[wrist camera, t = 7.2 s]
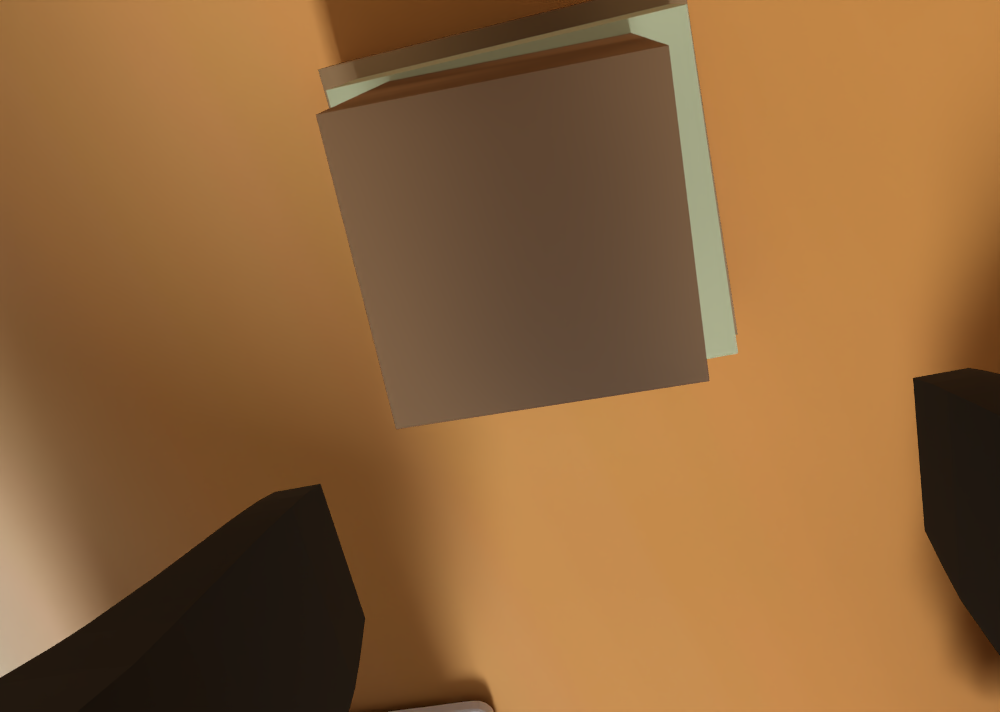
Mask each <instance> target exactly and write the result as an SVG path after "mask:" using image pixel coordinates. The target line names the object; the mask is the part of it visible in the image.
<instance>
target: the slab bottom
mask: <svg viewBox="0 0 1000 712" xmlns="http://www.w3.org/2000/svg"><path fill="white" fill-rule="evenodd" d="M667 4H687V0H591V1H587V2H583V3H579V4H575V5H571V6H567V7H563V8H559V9H555V10H551V11H547V12H543V13H539V14H535V15H531V16H527V17H523V18H519V19H515V20H511V21H507V22H503V23H499V24H495V25H491V26H487V27H483V28H479V29H475V30H471V31H467V32H463V33H459V34H455V35H451V36H447V37H443V38H439V39H435V40H431V41H427V42H423V43H419V44H415V45H411V46H407V47H403V48H399V49H395V50H391V51H387V52H383V53H379V54H375V55H371V56H367V57H363V58H359V59H355V60H351V61H347V62H343V63H339V64H336V65H333V66H329V67H326V68H322V69H319V70H318V71H319V74H320V78H321V81H322V84H323V88H324V91H325V95H326V98H327V102H328V105H329V108H331V106H330V103H329V99H328V96H327V92H326V90H328V89H331V88H334V87H336V86H339V85H342V84H344V83H347V82H350V81H352V80H355V79H358V78H362V77H366V76H371V75H375V74H379V73H383V72H387V71H391V70H396V69H400V68H404V67H408V66H412V65H416V64H421V63H425V62H429V61H433V60H437V59H442V58H446V57H450V56H454V55H458V54H462V53H467V52H471V51H475V50H479V49H483V48H487V47H492V46H496V45H500V44H504V43H508V42H512V41H517V40H521V39H525V38H529V37H533V36H538V35H542V34H546V33H550V32H554V31H558V30H563V29H567V28H571V27H575V26H579V25H583V24H588V23H592V22H596V21H600V20H604V19H609V18H613V17H617V16H621V15H625V14H629V13H634V12H638V11H642V10H646V9H650V8H654V7H659V6H663V5H667ZM687 8H688V6H687ZM688 15H689V12H688ZM689 22H690V19H689ZM690 29H691V25H690ZM691 35H692V32H691ZM692 42H693V38H692ZM693 49H694V45H693ZM694 56H695V51H694ZM695 63H696V58H695ZM696 69H697V65H696ZM697 76H698V71H697ZM698 83H699V78H698ZM699 90H700V84H699ZM700 97H701V91H700ZM701 104H702V97H701ZM702 110H703V104H702ZM703 117H704V111H703ZM704 124H705V117H704ZM705 131H706V138H707V145H708V151H709V158H710V165H711V172H712V179H713V185H714V192H715V199H716V206H717V213H718V220H719V226H720V233H721V240H722V247H723V254H724V261H725V267H726V274H727V281H728V288H729V295H730V301H731V308H732V315H733V322H734V329H735V335H737V327H736V321H735V314H734V307H733V301H732V294H731V288H730V281H729V275H728V268H727V261H726V255H725V248H724V242H723V235H722V229H721V222H720V216H719V209H718V202H717V196H716V189H715V183H714V176H713V170H712V163H711V156H710V150H709V143H708V137H707V130H706V124H705Z"/></svg>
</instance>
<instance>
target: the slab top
mask: <svg viewBox="0 0 1000 712" xmlns="http://www.w3.org/2000/svg"><path fill="white" fill-rule="evenodd" d="M628 33H633V34H636V35H639V36H642V37H645V38H648V39H651V40H654V41H657V42H660V43H664V44H667V45H669V51H670V59H671V67H672V76H673V84H674V92H675V100H676V109H677V117H678V125H679V134H680V142H681V150H682V158H683V167H684V175H685V183H686V191H687V200H688V208H689V216H690V224H691V233H692V241H693V249H694V258H695V266H696V274H697V282H698V291H699V299H700V307H701V315H702V324H703V332H704V340H705V349H706V357H707V359H710V358H715V357H721V356H726V355H731V354H737V353H738V349H737V342H736V336H735V329H734V322H733V315H732V308H731V301H730V295H729V288H728V281H727V274H726V267H725V261H724V254H723V247H722V240H721V233H720V226H719V220H718V213H717V206H716V199H715V192H714V185H713V179H712V172H711V165H710V158H709V151H708V145H707V138H706V131H705V124H704V117H703V110H702V104H701V97H700V90H699V83H698V76H697V69H696V63H695V56H694V49H693V42H692V35H691V29H690V22H689V15H688V8H687V4H667V5H663V6H659V7H654V8H650V9H646V10H642V11H638V12H634V13H629V14H625V15H621V16H617V17H613V18H609V19H604V20H600V21H596V22H592V23H588V24H583V25H579V26H575V27H571V28H567V29H563V30H558V31H554V32H550V33H546V34H542V35H538V36H533V37H529V38H525V39H521V40H517V41H512V42H508V43H504V44H500V45H496V46H492V47H487V48H483V49H479V50H475V51H471V52H467V53H462V54H458V55H454V56H450V57H446V58H442V59H437V60H433V61H429V62H425V63H421V64H416V65H412V66H408V67H404V68H400V69H396V70H391V71H387V72H383V73H379V74H375V75H371V76H366V77H362V78H358V79H355V80H352V81H350V82H347V83H344V84H342V85H339V86H336V87H334V88H331V89H328V90H326V92H327V96H328V99H329V103H330V106H331V108H332V107H334V106H336V105H338V104H340V103H343V102H345V101H347V100H349V99H351V98H353V97H356V96H358V95H360V94H362V93H364V92H366V91H369V90H371V89H373V88H375V87H377V86H379V85H382V84H384V83H386V82H388V81H392V80H397V79H402V78H407V77H412V76H417V75H422V74H427V73H432V72H437V71H442V70H447V69H452V68H457V67H462V66H467V65H472V64H477V63H482V62H487V61H492V60H497V59H502V58H507V57H512V56H517V55H522V54H527V53H532V52H537V51H542V50H547V49H553V48H558V47H563V46H568V45H573V44H578V43H583V42H588V41H593V40H598V39H603V38H608V37H613V36H618V35H623V34H628Z"/></svg>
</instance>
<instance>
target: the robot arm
mask: <svg viewBox="0 0 1000 712" xmlns="http://www.w3.org/2000/svg"><path fill="white" fill-rule="evenodd" d="M913 383H914V396H915V409H916V422H917V435H918V448H919V461H920V474H921V488H922V501H923V514H924V527H925V532H926V534H927V536H928V538H929V540H930V542H931V544H932V546H933V548H934V550H935V552H936V554H937V556H938V558H939V560H940V562H941V564H942V566H943V568H944V570H945V571H946V573H947V575H948V577H949V579H950V581H951V583H952V585H953V586H954V588H955V590H956V592H957V594H958V596H959V598H960V599H961V601H962V602H963V604H964V605H965V607H966V608H967V610H968V611H969V613H970V614H971V615H972V617H973V618H974V620H975V621H976V623H977V624H978V625H979V627H980V628H981V630H982V631H983V633H984V634H985V635H986V637H987V638H988V640H989V641H990V642H991V644H992V645H993V647H994V648H995V649H996V651H997V652H998V654H999V655H1000V374H996V373H992V372H988V371H983V370H978V369H971V368H966V369H961V370H955V371H950V372H944V373H938V374H933V375H927V376H922V377H916V378H913ZM364 622H365V617H364V614H363V611H362V608H361V605H360V602H359V599H358V596H357V593H356V590H355V587H354V584H353V580H352V577H351V574H350V571H349V568H348V565H347V562H346V559H345V556H344V553H343V550H342V547H341V544H340V541H339V538H338V535H337V532H336V529H335V526H334V523H333V520H332V517H331V514H330V511H329V508H328V505H327V502H326V499H325V496H324V493H323V490H322V487H321V484H317V485H312V486H306V487H301V488H295V489H289V490H284V491H278V492H274V493H272V494H270V495H269V496H267V497H265V498H263V499H261V500H260V501H258V502H256V503H255V504H253V505H252V506H250V507H249V508H247V509H246V510H244V511H243V512H242V513H240V514H239V515H237V516H236V517H235V518H233V519H232V520H230V521H229V522H228V523H226V524H225V525H224V526H222V527H221V528H220V529H218V530H217V531H216V532H214V533H213V534H212V535H210V536H209V537H208V538H206V539H205V540H204V541H202V542H201V543H200V544H198V545H197V546H196V547H194V548H193V549H192V550H190V551H189V552H188V553H186V554H185V555H184V556H182V557H181V558H180V559H178V560H177V561H176V562H174V563H173V564H172V565H170V566H169V567H168V568H166V569H165V570H164V571H162V572H161V573H160V574H158V575H157V576H156V577H154V578H153V579H151V580H150V581H148V582H147V583H146V584H144V585H143V586H141V587H140V588H139V589H137V590H136V591H134V592H133V593H131V594H130V595H129V596H127V597H126V598H124V599H123V600H121V601H120V602H119V603H117V604H116V605H114V606H113V607H111V608H110V609H109V610H107V611H106V612H104V613H103V614H102V615H100V616H99V617H97V618H96V619H94V620H93V621H92V622H90V623H89V624H87V625H86V626H84V627H83V628H81V629H80V630H78V631H77V632H75V633H73V634H72V635H70V636H69V637H67V638H66V639H64V640H62V641H61V642H59V643H58V644H56V645H55V646H53V647H51V648H50V649H48V650H47V651H45V652H43V653H41V654H40V655H38V656H36V657H35V658H33V659H31V660H30V661H28V662H26V663H25V664H23V665H21V666H19V667H18V668H16V669H14V670H13V671H11V672H9V673H8V674H6V675H4V676H3V677H1V678H0V712H349V708H350V705H351V701H352V697H353V694H354V690H355V685H356V679H357V673H358V667H359V660H360V653H361V646H362V638H363V630H364ZM390 712H494V711H493V709H492V707H490V706H489V705H488V704H487V703H484V702H481V701H467V702H459V703H451V704H443V705H436V706H428V707H420V708H413V709H405V710H397V711H390Z"/></svg>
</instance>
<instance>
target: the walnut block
mask: <svg viewBox="0 0 1000 712" xmlns="http://www.w3.org/2000/svg"><path fill="white" fill-rule="evenodd" d="M316 117H317V121H318V124H319V128H320V132H321V136H322V140H323V144H324V148H325V152H326V156H327V160H328V164H329V168H330V172H331V175H332V179H333V183H334V187H335V191H336V195H337V199H338V203H339V207H340V211H341V215H342V219H343V223H344V226H345V230H346V234H347V238H348V242H349V246H350V250H351V254H352V258H353V262H354V266H355V270H356V274H357V277H358V281H359V285H360V289H361V293H362V297H363V301H364V305H365V309H366V313H367V317H368V321H369V325H370V328H371V332H372V336H373V340H374V344H375V348H376V352H377V356H378V360H379V364H380V368H381V372H382V376H383V379H384V383H385V387H386V391H387V395H388V399H389V403H390V407H391V411H392V415H393V419H394V423H395V427H396V429H401V428H407V427H414V426H420V425H427V424H433V423H440V422H446V421H453V420H459V419H466V418H472V417H479V416H485V415H492V414H498V413H505V412H511V411H518V410H524V409H531V408H537V407H544V406H550V405H557V404H563V403H570V402H576V401H583V400H589V399H596V398H602V397H609V396H615V395H622V394H628V393H635V392H641V391H648V390H654V389H660V388H667V387H673V386H680V385H686V384H693V383H699V382H706V381H709V373H708V365H707V357H706V349H705V340H704V332H703V324H702V315H701V307H700V299H699V291H698V282H697V274H696V266H695V258H694V249H693V241H692V233H691V224H690V216H689V208H688V200H687V191H686V183H685V175H684V167H683V158H682V150H681V142H680V134H679V125H678V117H677V109H676V100H675V92H674V84H673V76H672V67H671V59H670V51H669V45H667V44H664V43H660V42H657V41H654V40H651V39H648V38H645V37H642V36H639V35H636V34H633V33H628V34H623V35H618V36H613V37H608V38H603V39H598V40H593V41H588V42H583V43H578V44H573V45H568V46H563V47H558V48H553V49H547V50H542V51H537V52H532V53H527V54H522V55H517V56H512V57H507V58H502V59H497V60H492V61H487V62H482V63H477V64H472V65H467V66H462V67H457V68H452V69H447V70H442V71H437V72H432V73H427V74H422V75H417V76H412V77H407V78H402V79H397V80H392V81H388V82H386V83H384V84H382V85H379V86H377V87H375V88H373V89H371V90H369V91H366V92H364V93H362V94H360V95H358V96H356V97H353V98H351V99H349V100H347V101H345V102H343V103H340V104H338V105H336V106H334V107H332V108H330V109H327V110H325V111H323V112H321V113H319V114H317V115H316Z"/></svg>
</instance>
